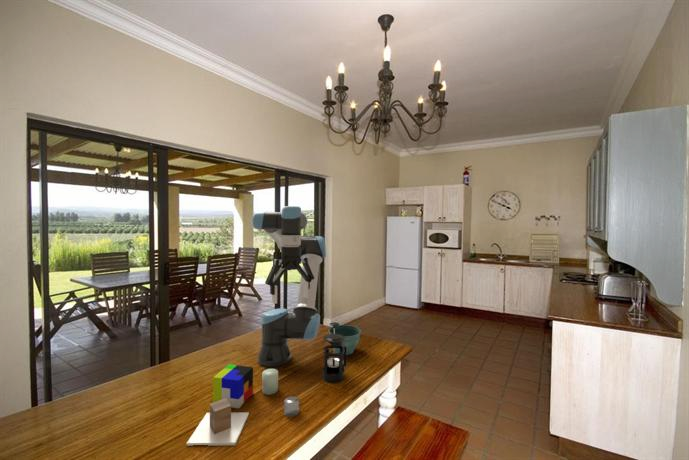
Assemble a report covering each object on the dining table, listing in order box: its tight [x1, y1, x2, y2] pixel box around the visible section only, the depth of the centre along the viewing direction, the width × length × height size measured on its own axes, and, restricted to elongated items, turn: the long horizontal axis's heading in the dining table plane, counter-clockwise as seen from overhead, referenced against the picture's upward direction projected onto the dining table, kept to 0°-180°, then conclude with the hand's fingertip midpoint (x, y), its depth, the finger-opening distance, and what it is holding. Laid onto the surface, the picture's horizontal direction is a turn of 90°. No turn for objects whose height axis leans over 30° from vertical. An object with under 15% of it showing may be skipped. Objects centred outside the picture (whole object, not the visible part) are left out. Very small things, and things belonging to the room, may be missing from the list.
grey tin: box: [283, 396, 300, 418], centre depth 105 cm, size 5×5×4 cm
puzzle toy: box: [212, 363, 254, 409], centre depth 112 cm, size 10×10×10 cm
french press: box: [321, 321, 347, 384], centre depth 129 cm, size 12×9×23 cm
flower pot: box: [328, 324, 361, 356], centre depth 154 cm, size 16×16×11 cm
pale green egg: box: [261, 368, 279, 396], centre depth 118 cm, size 6×6×7 cm
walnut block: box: [209, 398, 232, 434], centre depth 96 cm, size 5×5×7 cm
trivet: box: [186, 411, 250, 447], centre depth 96 cm, size 14×14×1 cm
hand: (290, 300), depth 119 cm, fingers open, 13 cm apart
